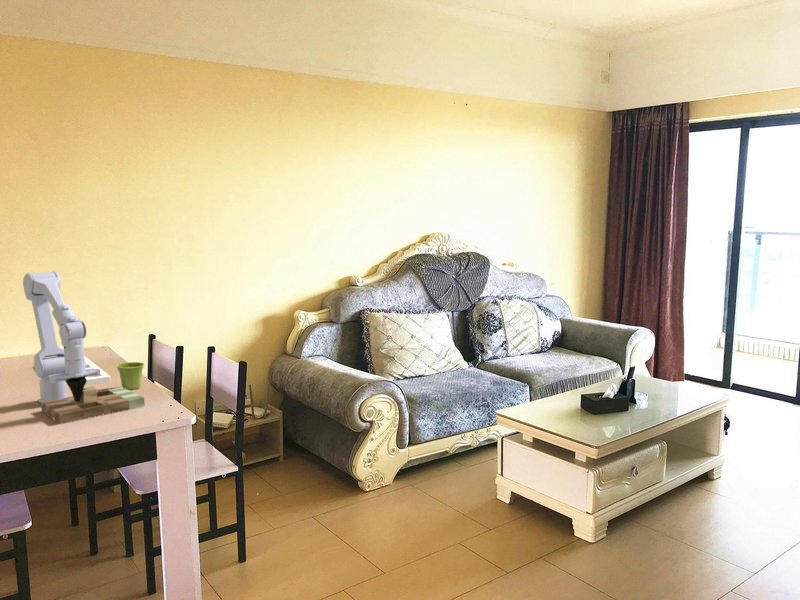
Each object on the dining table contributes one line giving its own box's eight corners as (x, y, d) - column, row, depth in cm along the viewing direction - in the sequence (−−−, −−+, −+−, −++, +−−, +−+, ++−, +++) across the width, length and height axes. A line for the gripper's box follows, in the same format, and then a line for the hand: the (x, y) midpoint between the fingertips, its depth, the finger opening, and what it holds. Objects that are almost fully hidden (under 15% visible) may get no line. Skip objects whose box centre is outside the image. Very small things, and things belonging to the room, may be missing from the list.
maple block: (80, 400, 212) (79, 388, 212) (93, 398, 215) (92, 386, 215) (84, 403, 209) (83, 391, 209) (97, 400, 212) (96, 388, 212)
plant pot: (137, 383, 246) (135, 360, 245) (150, 387, 240) (149, 364, 239) (113, 388, 239) (111, 365, 238) (126, 392, 233) (124, 369, 232)
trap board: (41, 411, 211) (41, 402, 211) (122, 395, 229) (122, 387, 229) (60, 423, 198) (59, 414, 198) (144, 406, 216) (144, 397, 216)
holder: (110, 383, 248) (110, 376, 248) (58, 391, 237) (57, 383, 237) (84, 361, 284) (84, 355, 283) (38, 367, 273) (37, 361, 272)
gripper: (54, 364, 200) (57, 407, 202) (102, 357, 210) (105, 398, 212) (46, 361, 205) (49, 403, 207) (94, 354, 215) (97, 394, 217)
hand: (77, 400), depth 210 cm, fingers closed
